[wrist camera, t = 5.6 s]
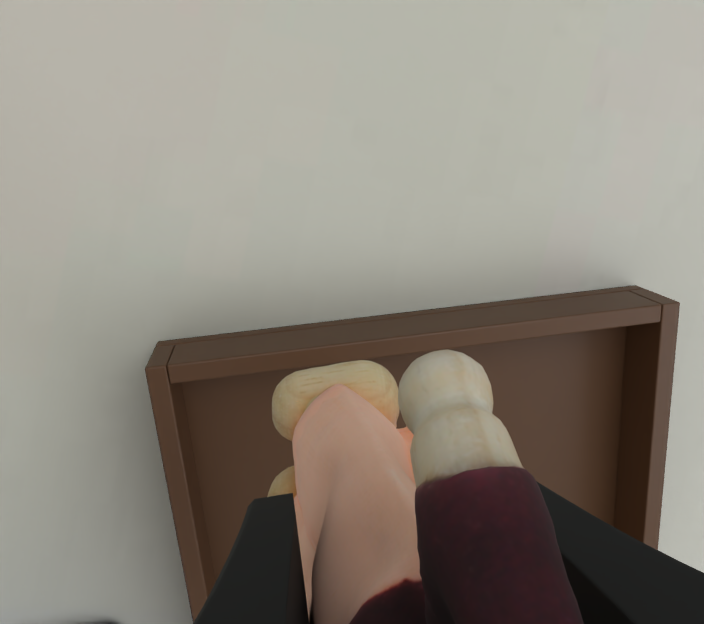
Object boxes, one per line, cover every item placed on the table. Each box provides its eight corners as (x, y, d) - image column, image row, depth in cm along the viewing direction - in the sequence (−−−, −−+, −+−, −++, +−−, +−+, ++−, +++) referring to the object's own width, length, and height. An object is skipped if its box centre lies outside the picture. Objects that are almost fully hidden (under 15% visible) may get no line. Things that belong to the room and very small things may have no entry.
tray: (213, 647, 22) (208, 702, 20) (157, 340, 19) (144, 368, 16) (616, 574, 24) (651, 617, 22) (635, 284, 21) (680, 302, 18)
